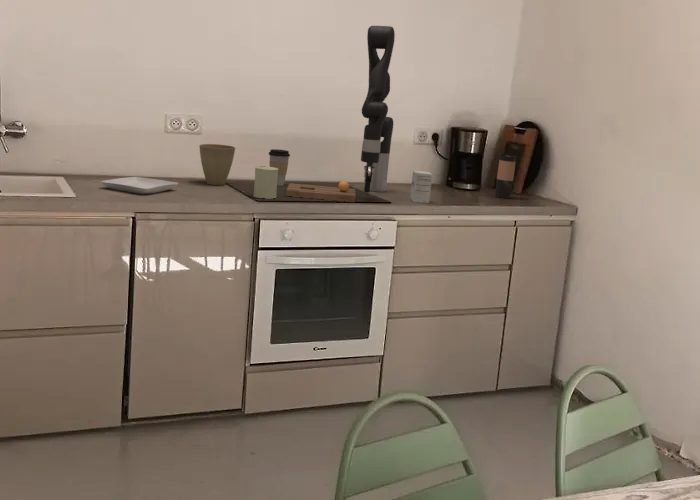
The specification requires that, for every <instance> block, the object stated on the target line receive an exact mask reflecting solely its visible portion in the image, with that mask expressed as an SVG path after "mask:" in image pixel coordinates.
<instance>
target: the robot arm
mask: <svg viewBox="0 0 700 500" xmlns="http://www.w3.org/2000/svg"><path fill="white" fill-rule="evenodd" d="M395 34H396V33H395V28H394V26H391V25H389V26H388V25H371V26H369V27H368V29H367V38H366V39H367V51H368V55H367V56H368V87H367V88H368V89H367V90H368V91H367V93H366V94H367V95H366V97H365V99H364V102H363V104H362V107H361V114H362V116H363V118H366V119H368V120H367V122H368V123H367V124H366V125H365V126H364V129H363V130H364V131H363V140H362V145H361V155H360V161H361V162H362V163H366V165H364V167H363V170H364V173H363V177H364V189H363V190H364V191H363V192H364V193H370V192H371V191H372V192H381V193H382V192H386V190H387V183H388V174H389V173H388V171H389V163H390V154H391V153H390V152H391V144H392V136H393V132H394V119H393V118H392V117H390V116H388V111H389V107H388V105H387V103H386V102H384V101H385V100H386V99H387V98H388V96H389V94H390V90H391V75H390V72H389V68H390V65H391V60H392V56H393V55H392V54H393V51H394V50H393V49H394V46H395V37H396V36H395ZM377 50H384V52H383V55H382V57H379V54H378V51H377ZM382 138H383V140H381V139H382Z"/></svg>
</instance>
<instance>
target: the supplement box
mask: <svg viewBox="0 0 700 500" xmlns="http://www.w3.org/2000/svg"><path fill="white" fill-rule="evenodd" d="M432 180H433V173H431V172H430V171H423V170H413V171H412V178H411V187H410V195H409V196H410V197H409V199H410V201H412V202H413V203H419V204H420V203H421V204H429V203H430V197H431V190H432Z"/></svg>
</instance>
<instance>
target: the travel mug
mask: <svg viewBox="0 0 700 500" xmlns="http://www.w3.org/2000/svg"><path fill="white" fill-rule="evenodd" d="M516 161H517V155H512V154H504V153H503V154H500V155H499V161H498V168H497V173H496V182H495V183H496V184H495V193H494V197H495V196H496V197H495V198H497V197H500V198H499V199H502V198H510V199H511V195H512V189H513V184H514V177H515V170H516V163H517V162H516Z"/></svg>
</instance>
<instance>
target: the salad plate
mask: <svg viewBox="0 0 700 500" xmlns="http://www.w3.org/2000/svg"><path fill="white" fill-rule="evenodd" d="M101 184H102V185H104V186H105V187H107V188H109V189H112V190H116V191H121V192H128V193H133V194H141V195H151V194H156V193H162V192H166V191H169V190H171V189H173V188H176V187H177V186H178V185H179V182H176V181H169V180H163V179H156V178H155V179H154V178H148V177H147V178H146V177H139V176H130V177H119V178H112V179H107V180H106V179H105V180H102V181H101Z"/></svg>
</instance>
